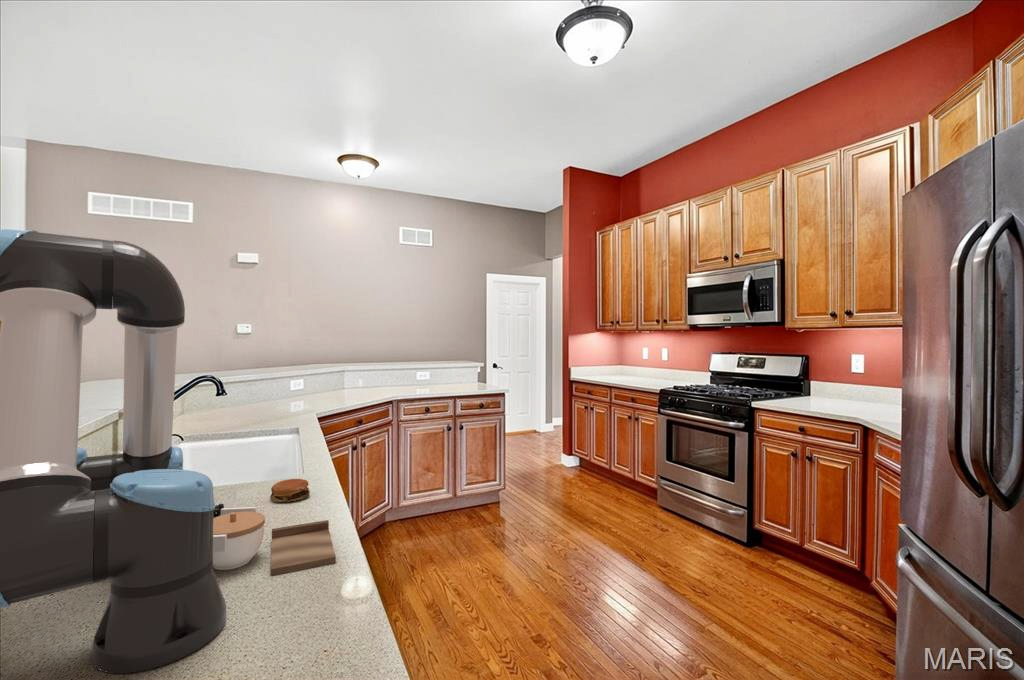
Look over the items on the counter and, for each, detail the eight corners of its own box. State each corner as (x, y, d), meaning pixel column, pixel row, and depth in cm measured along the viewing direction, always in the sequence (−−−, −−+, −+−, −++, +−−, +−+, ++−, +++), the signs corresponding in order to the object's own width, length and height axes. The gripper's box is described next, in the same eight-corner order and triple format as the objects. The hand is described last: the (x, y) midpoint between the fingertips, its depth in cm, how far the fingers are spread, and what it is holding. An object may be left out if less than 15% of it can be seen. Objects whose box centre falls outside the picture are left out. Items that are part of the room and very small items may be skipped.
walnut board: (335, 562, 87) (335, 548, 87) (270, 575, 82) (270, 560, 82) (327, 532, 101) (328, 519, 101) (271, 542, 96) (271, 528, 96)
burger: (264, 498, 122) (265, 480, 122) (300, 490, 129) (300, 473, 129) (279, 507, 116) (279, 489, 116) (315, 498, 122) (315, 481, 122)
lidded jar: (245, 544, 94) (246, 499, 94) (276, 558, 89) (276, 510, 89) (187, 566, 85) (187, 516, 85) (217, 583, 80) (217, 529, 80)
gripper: (157, 526, 96) (265, 521, 100) (62, 590, 72) (210, 580, 75) (158, 491, 96) (265, 487, 100) (63, 543, 72) (210, 535, 75)
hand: (242, 527), depth 88 cm, fingers open, 13 cm apart
